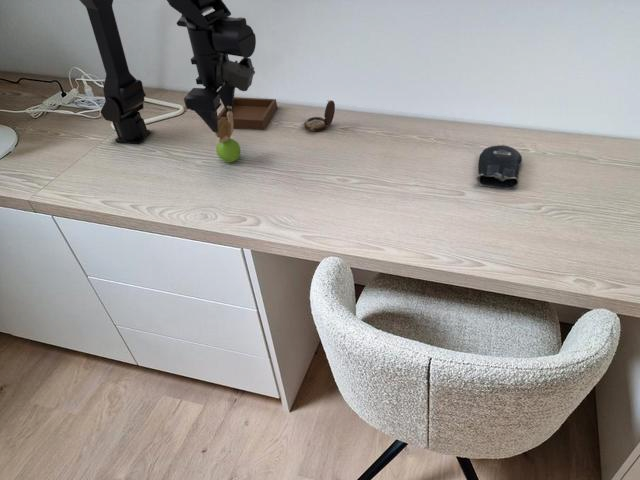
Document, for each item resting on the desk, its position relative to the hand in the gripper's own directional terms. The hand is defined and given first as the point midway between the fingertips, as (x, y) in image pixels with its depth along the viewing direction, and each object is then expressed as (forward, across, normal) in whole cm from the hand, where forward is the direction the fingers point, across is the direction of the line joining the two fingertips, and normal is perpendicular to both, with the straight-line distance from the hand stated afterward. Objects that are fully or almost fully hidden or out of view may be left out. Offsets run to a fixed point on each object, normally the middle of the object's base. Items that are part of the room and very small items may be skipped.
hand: (223, 122), depth 110 cm
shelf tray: (+9, +21, +3) cm, 24 cm away
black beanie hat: (+9, +2, -62) cm, 63 cm away
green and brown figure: (+10, 0, 0) cm, 10 cm away
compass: (+10, +18, -17) cm, 26 cm away
